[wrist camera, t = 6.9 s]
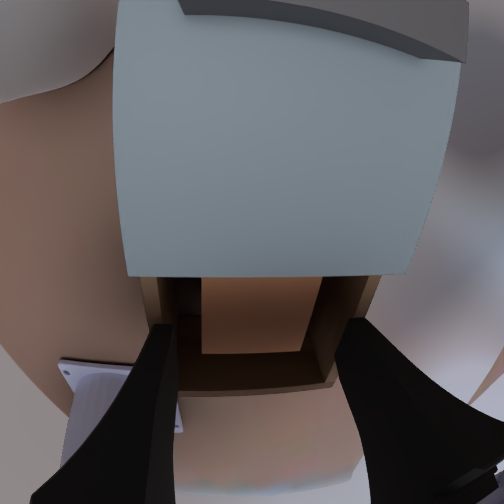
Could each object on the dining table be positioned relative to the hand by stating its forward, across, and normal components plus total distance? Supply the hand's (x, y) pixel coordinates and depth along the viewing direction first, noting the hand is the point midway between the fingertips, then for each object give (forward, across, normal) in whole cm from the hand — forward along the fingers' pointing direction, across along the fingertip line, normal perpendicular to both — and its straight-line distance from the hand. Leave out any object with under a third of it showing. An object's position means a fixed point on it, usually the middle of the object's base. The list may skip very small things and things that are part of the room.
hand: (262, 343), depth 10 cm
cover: (0, 0, -7) cm, 7 cm away
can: (+5, +8, -11) cm, 15 cm away
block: (+5, 0, 0) cm, 5 cm away
